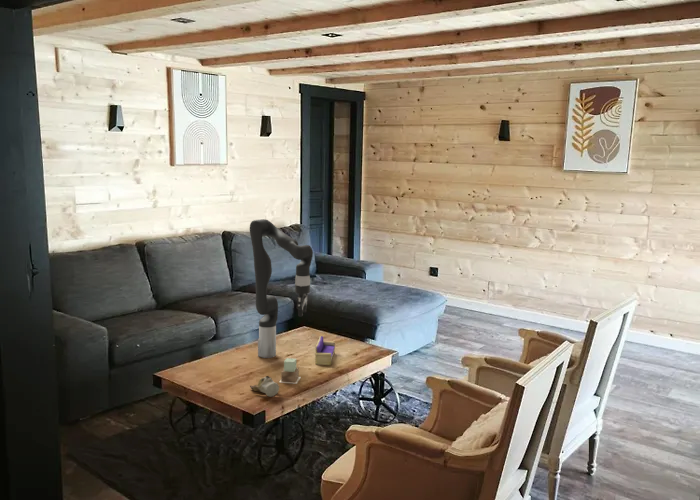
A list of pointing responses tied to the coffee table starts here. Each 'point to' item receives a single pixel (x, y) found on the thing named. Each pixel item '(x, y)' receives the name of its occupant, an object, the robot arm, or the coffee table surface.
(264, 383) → the ceramic sculpture
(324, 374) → the coffee table surface
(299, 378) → the mat
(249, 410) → the coffee table surface
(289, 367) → the sage cube
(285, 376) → the walnut base block
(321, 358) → the toy sofa
